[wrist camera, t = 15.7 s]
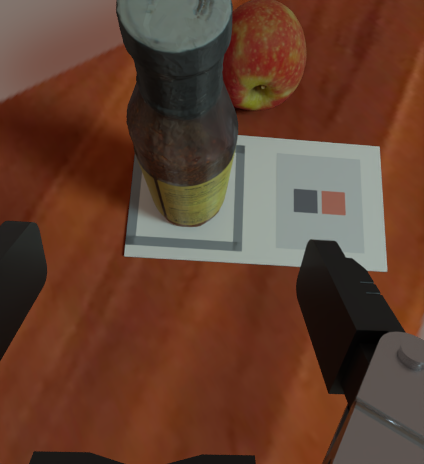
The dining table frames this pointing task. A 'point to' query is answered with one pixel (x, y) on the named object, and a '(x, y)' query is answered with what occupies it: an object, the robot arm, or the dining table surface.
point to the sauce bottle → (181, 103)
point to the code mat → (275, 207)
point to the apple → (263, 55)
